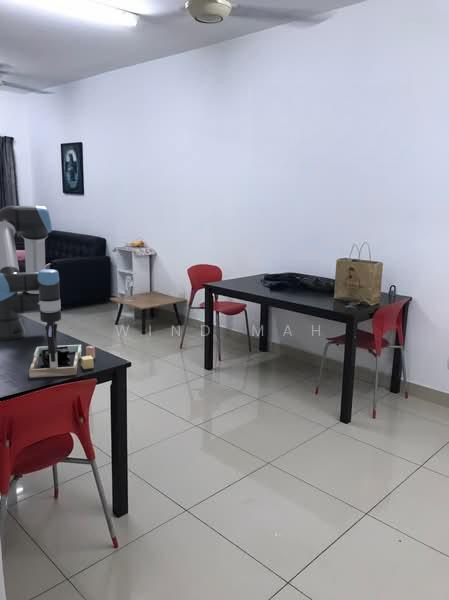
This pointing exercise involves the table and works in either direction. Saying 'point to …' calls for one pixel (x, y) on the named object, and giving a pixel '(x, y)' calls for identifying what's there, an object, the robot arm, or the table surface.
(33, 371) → the beige wooden tray
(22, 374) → the table surface
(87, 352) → the pinkish brown cylinder
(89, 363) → the mustard block
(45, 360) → the black lumpy piece
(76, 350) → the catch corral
